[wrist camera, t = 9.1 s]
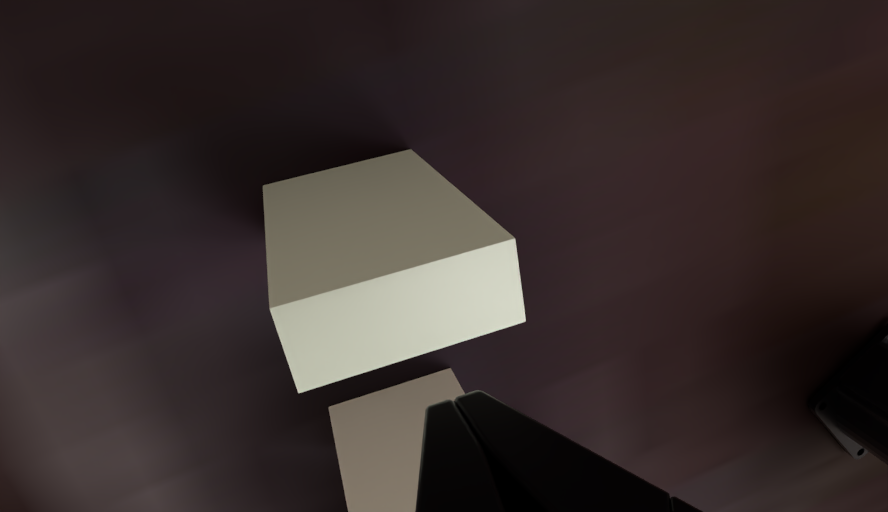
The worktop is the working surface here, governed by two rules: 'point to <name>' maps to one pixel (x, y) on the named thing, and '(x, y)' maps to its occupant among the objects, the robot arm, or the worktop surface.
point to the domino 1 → (382, 267)
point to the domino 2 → (386, 441)
